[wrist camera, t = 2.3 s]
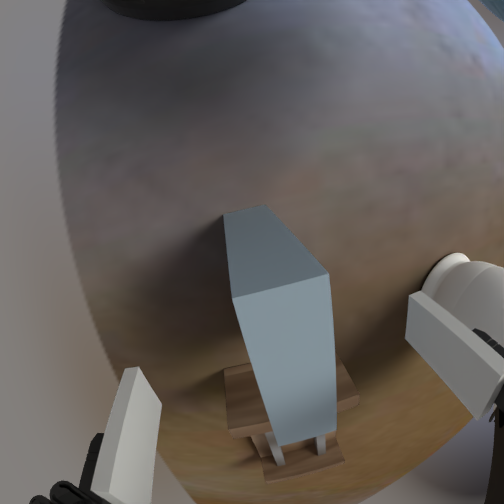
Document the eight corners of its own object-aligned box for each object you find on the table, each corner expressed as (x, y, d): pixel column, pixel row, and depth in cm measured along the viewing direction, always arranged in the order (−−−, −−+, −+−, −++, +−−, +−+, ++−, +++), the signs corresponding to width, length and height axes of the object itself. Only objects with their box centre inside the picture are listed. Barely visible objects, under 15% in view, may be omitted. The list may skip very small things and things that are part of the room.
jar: (443, 225, 22) (569, 291, 8) (484, 262, 24) (574, 319, 10) (391, 320, 25) (482, 426, 11) (441, 338, 27) (514, 415, 13)
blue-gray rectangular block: (223, 214, 19) (231, 298, 8) (265, 204, 20) (328, 273, 8) (250, 321, 23) (278, 446, 11) (286, 312, 23) (336, 429, 11)
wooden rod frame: (223, 368, 24) (228, 429, 17) (329, 341, 24) (359, 394, 18) (261, 454, 30) (269, 496, 24) (333, 435, 31) (349, 475, 24)
